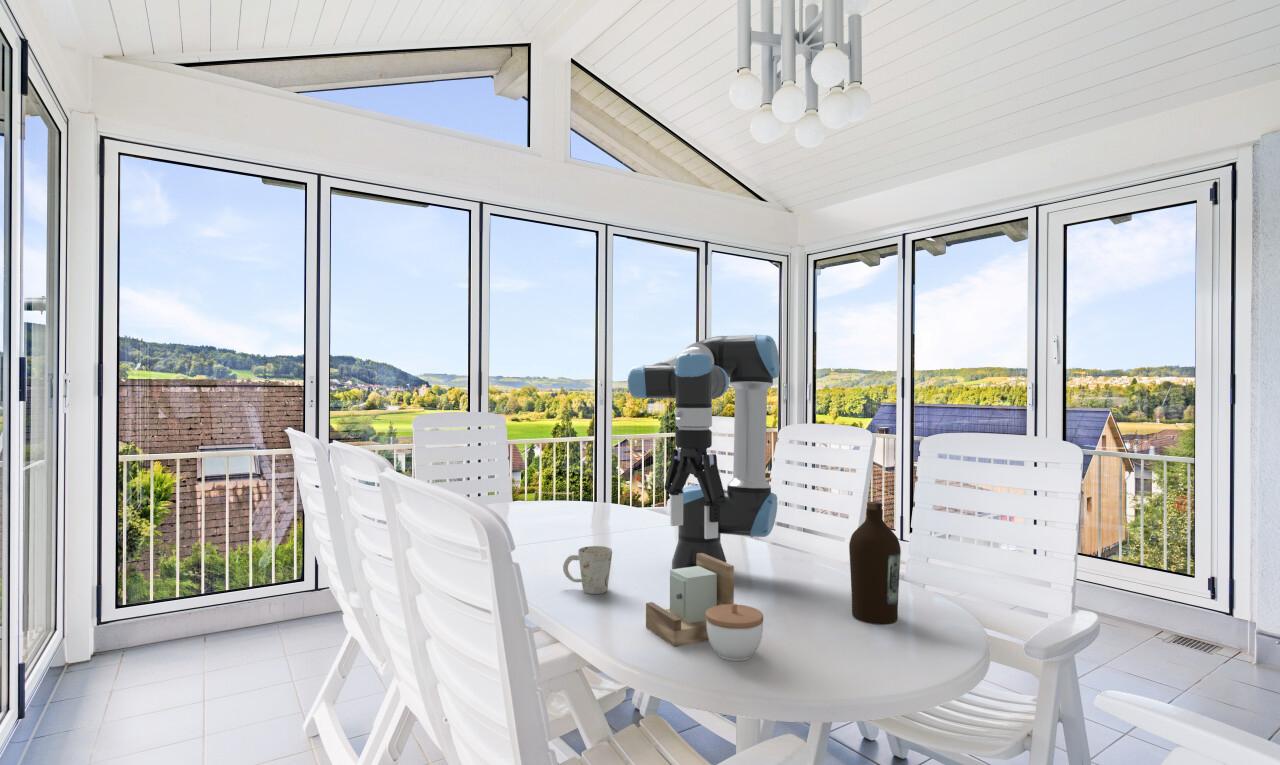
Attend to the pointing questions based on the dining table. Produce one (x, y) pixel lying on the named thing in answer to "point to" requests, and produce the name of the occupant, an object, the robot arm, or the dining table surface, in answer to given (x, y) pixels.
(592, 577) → the mug
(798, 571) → the dining table surface
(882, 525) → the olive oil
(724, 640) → the lidded jar
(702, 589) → the cabinet block
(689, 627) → the wooden stand
